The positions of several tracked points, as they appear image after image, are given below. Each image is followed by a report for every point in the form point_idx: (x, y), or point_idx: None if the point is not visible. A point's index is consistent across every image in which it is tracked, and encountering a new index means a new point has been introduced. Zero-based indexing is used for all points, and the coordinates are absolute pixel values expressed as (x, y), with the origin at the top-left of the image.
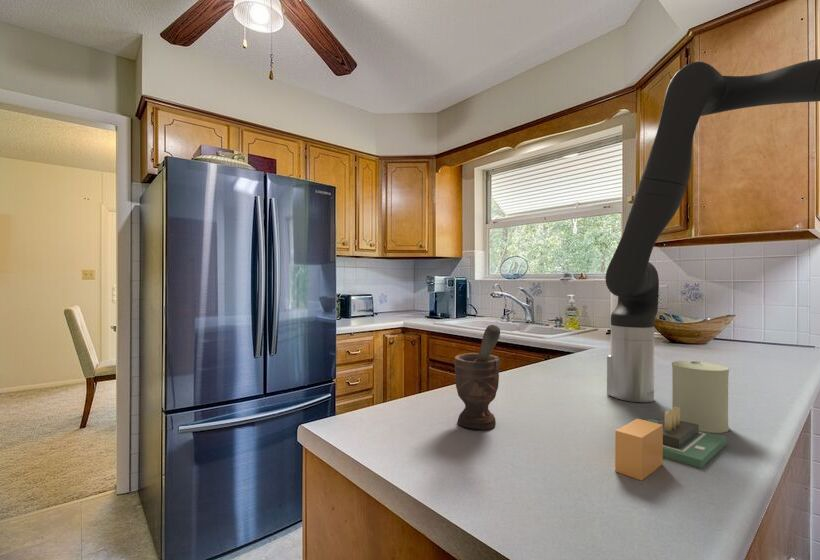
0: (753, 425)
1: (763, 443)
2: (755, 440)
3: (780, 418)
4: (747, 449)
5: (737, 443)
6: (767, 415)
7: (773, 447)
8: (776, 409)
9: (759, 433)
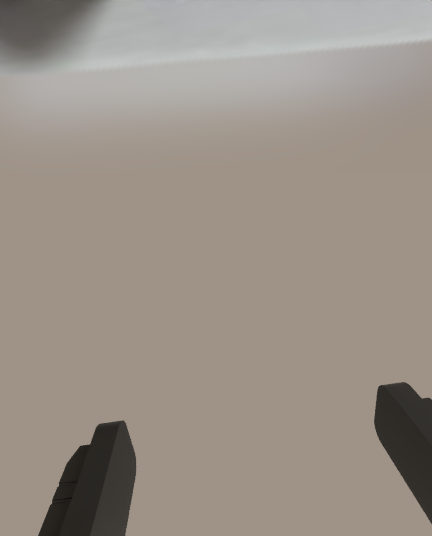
0: (198, 2)
1: (94, 45)
2: (99, 30)
3: (298, 33)
4: (33, 32)
5: (49, 9)
6: (303, 7)
7: (87, 64)
8: (373, 11)
9: (151, 25)
